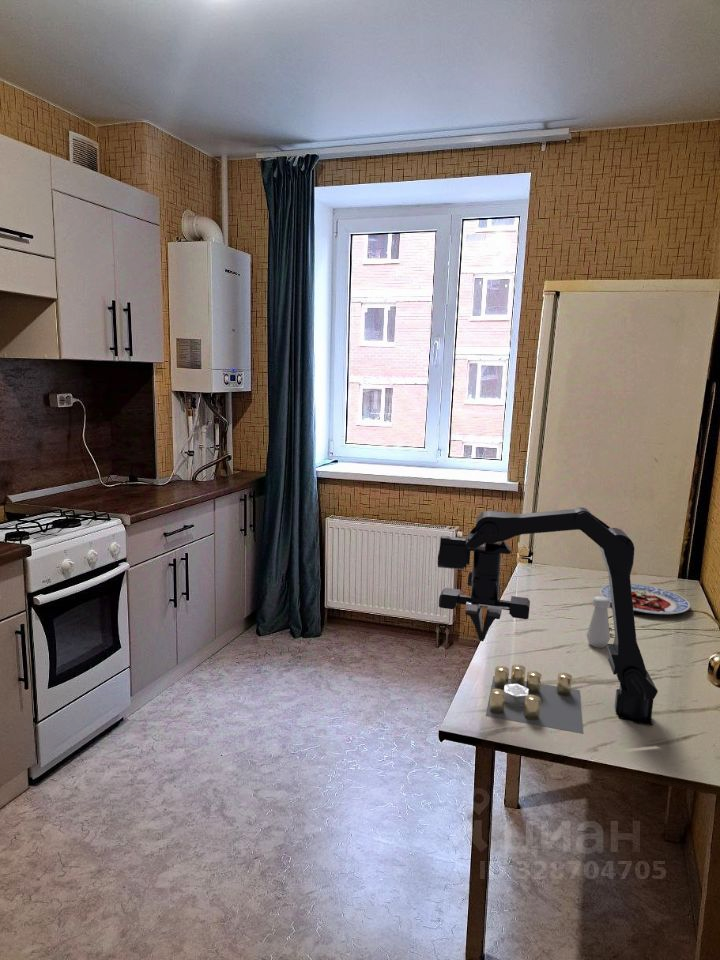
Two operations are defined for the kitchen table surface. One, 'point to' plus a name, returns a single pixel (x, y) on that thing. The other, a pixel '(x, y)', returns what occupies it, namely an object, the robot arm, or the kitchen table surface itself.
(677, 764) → the kitchen table surface
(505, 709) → the mat
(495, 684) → the brass spacers
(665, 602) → the ceramic plate
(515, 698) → the clear faceted crystal
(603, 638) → the salt shaker
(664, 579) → the kitchen table surface
